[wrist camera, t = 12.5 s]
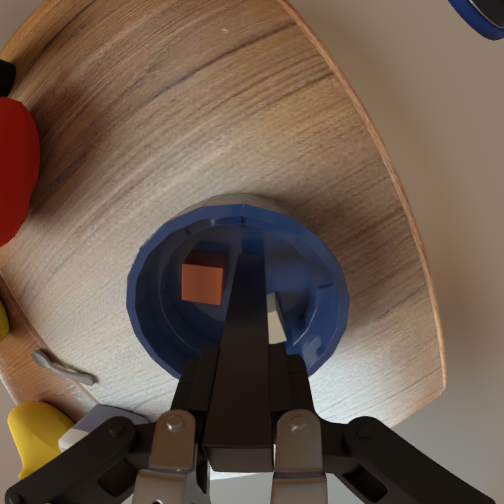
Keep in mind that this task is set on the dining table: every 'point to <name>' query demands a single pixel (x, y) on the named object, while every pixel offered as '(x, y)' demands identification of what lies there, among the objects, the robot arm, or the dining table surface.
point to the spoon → (46, 363)
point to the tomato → (16, 165)
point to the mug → (3, 323)
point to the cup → (6, 77)
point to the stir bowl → (232, 243)
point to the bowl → (95, 424)
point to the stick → (242, 379)
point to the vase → (37, 433)
